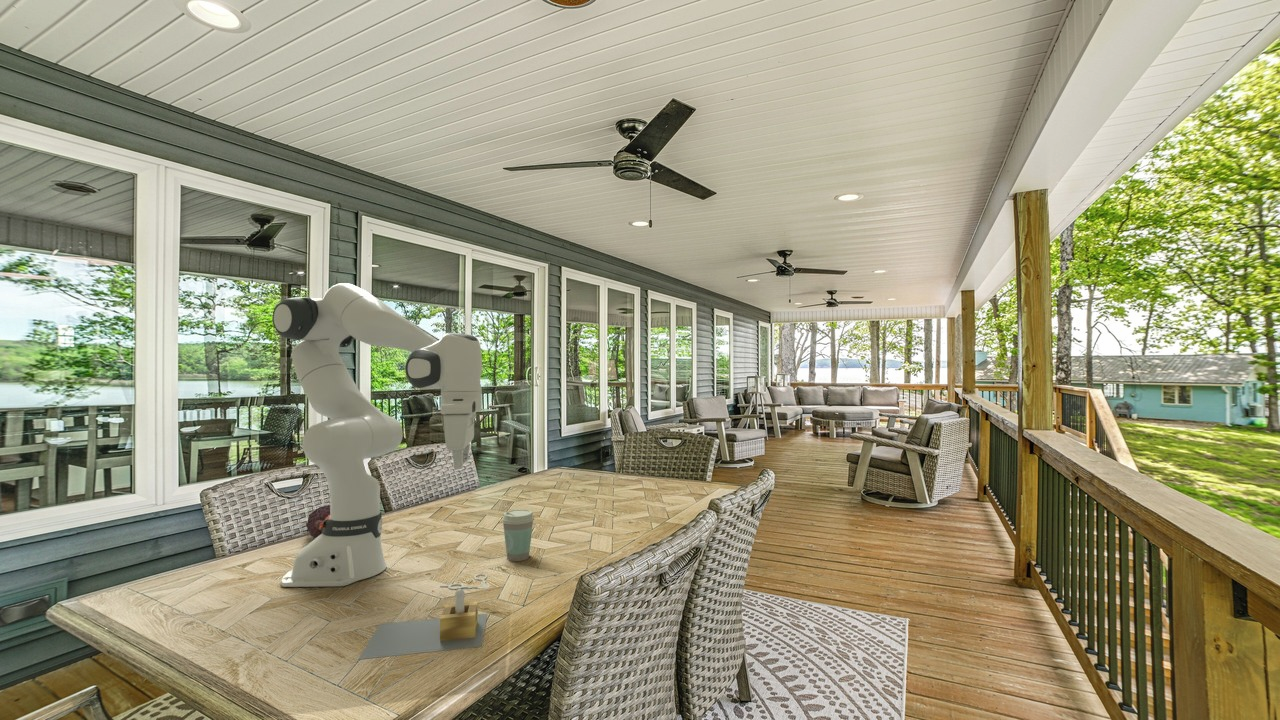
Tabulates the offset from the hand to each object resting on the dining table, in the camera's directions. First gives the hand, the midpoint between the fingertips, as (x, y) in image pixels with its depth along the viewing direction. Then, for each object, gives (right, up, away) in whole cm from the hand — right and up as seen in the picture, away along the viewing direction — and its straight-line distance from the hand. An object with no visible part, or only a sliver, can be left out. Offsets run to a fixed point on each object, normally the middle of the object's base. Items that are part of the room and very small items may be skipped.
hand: (461, 465), depth 118 cm
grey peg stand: (+1, -28, -22) cm, 36 cm away
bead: (+7, -27, -21) cm, 35 cm away
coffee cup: (+7, -30, +23) cm, 39 cm away
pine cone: (-55, -31, +41) cm, 75 cm away
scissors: (+5, -30, +2) cm, 30 cm away
